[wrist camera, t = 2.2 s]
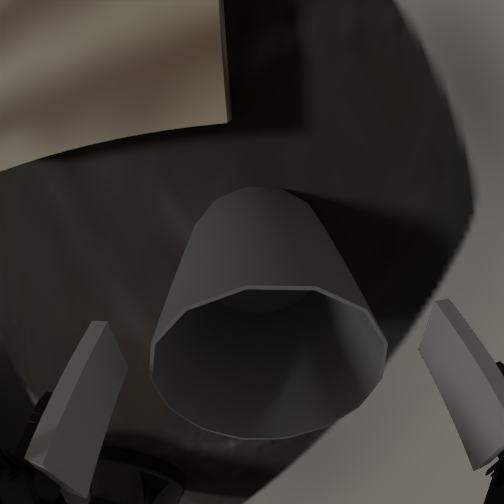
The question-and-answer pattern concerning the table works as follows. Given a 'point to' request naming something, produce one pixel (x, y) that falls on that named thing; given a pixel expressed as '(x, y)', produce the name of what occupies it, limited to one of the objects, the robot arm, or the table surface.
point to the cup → (264, 323)
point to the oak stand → (107, 72)
